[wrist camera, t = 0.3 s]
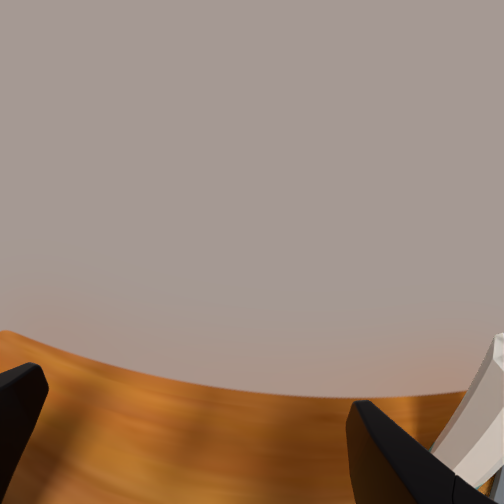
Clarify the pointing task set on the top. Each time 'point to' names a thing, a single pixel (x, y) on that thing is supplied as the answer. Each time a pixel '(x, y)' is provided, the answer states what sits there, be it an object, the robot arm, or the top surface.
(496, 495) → the pin plate
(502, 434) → the vase
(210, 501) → the top surface
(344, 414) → the top surface
